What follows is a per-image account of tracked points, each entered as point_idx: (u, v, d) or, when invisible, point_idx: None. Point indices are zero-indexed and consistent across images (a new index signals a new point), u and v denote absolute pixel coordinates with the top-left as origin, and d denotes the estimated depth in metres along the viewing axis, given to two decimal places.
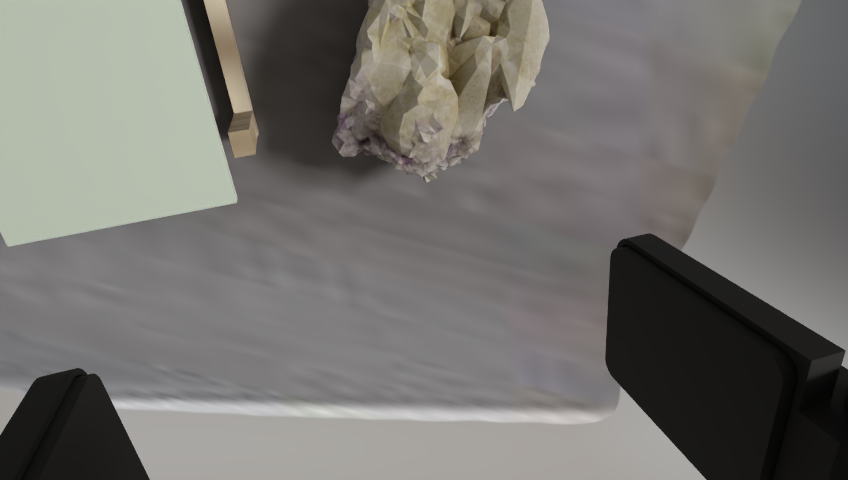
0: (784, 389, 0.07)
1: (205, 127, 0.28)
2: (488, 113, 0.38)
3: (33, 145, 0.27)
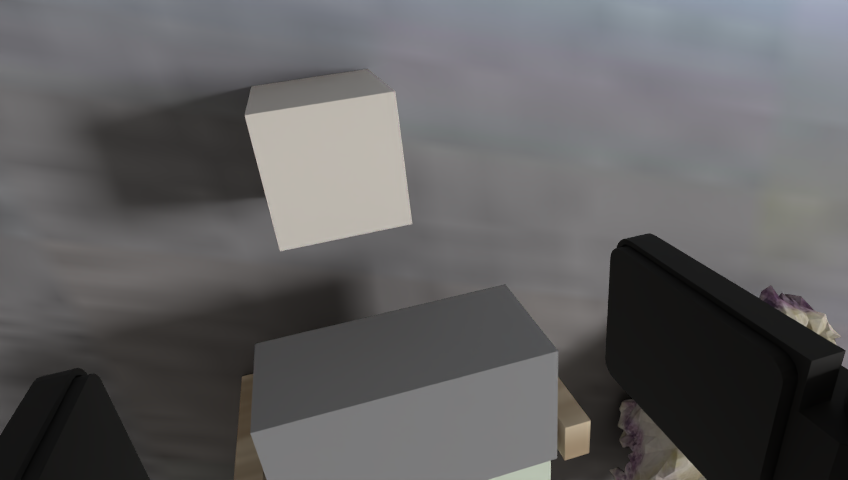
0: (784, 389, 0.07)
1: None
2: None
3: None
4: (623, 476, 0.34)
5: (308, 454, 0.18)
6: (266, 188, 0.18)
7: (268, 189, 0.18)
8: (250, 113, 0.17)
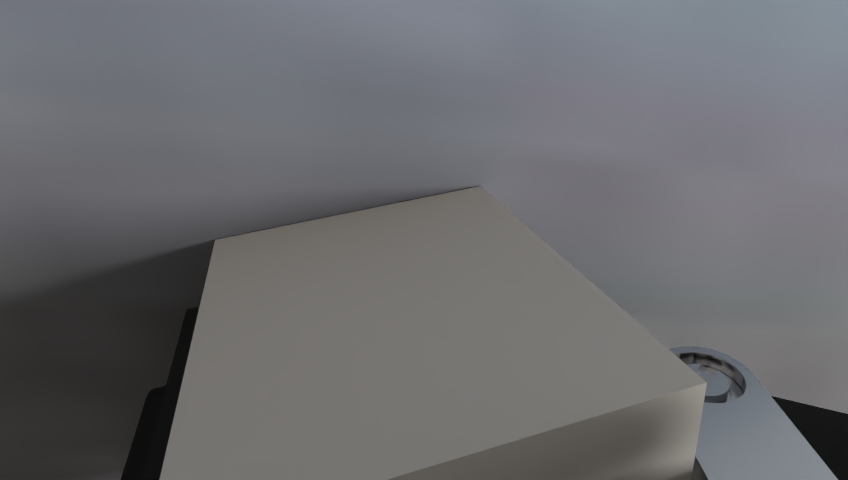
0: None
1: None
2: None
3: None
4: None
5: None
6: None
7: None
8: None
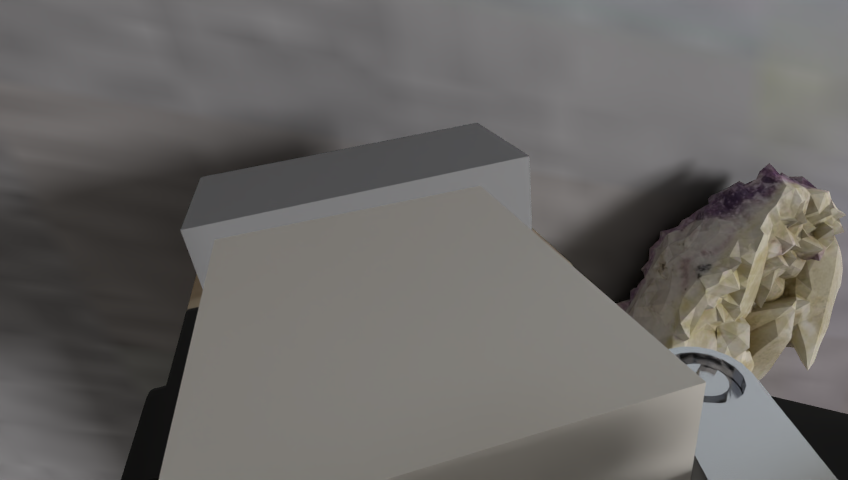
0: None
1: None
2: None
3: None
4: None
5: None
6: None
7: None
8: None
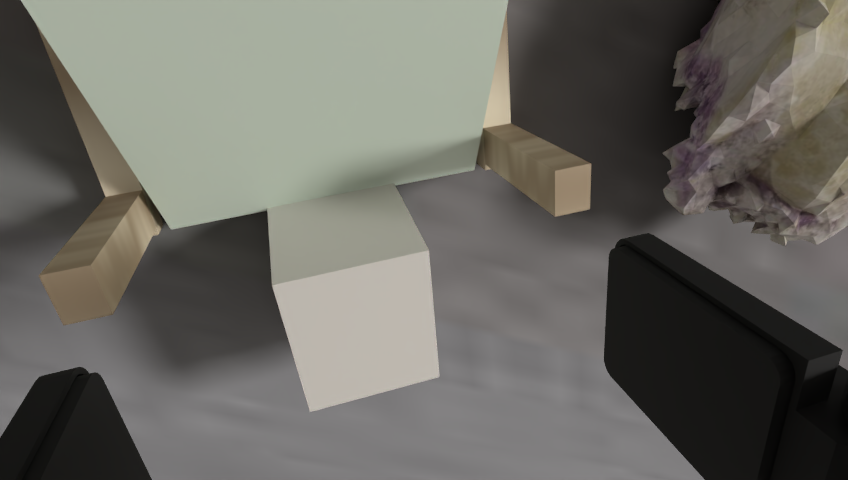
0: (782, 389, 0.07)
1: (478, 86, 0.18)
2: None
3: (223, 116, 0.16)
4: (688, 140, 0.20)
5: None
6: None
7: None
8: (314, 407, 0.19)
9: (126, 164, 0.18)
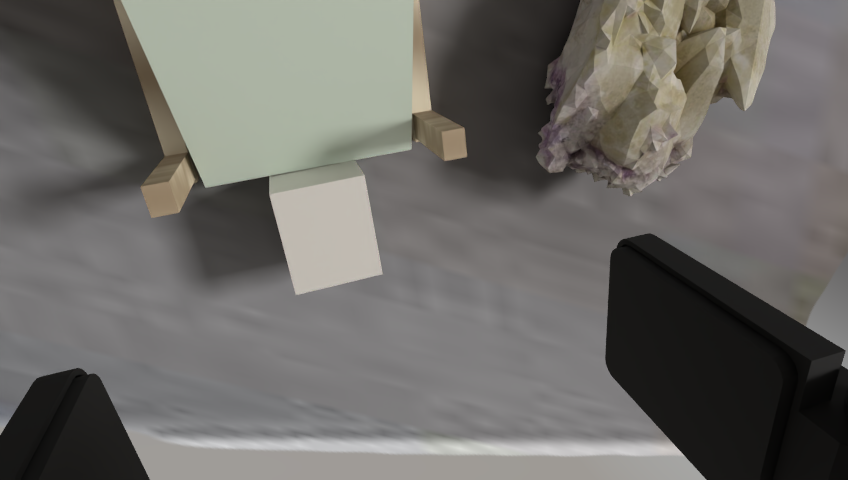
0: (784, 389, 0.07)
1: (403, 88, 0.28)
2: None
3: (242, 106, 0.26)
4: (549, 123, 0.31)
5: None
6: None
7: None
8: (298, 291, 0.29)
9: (178, 135, 0.28)
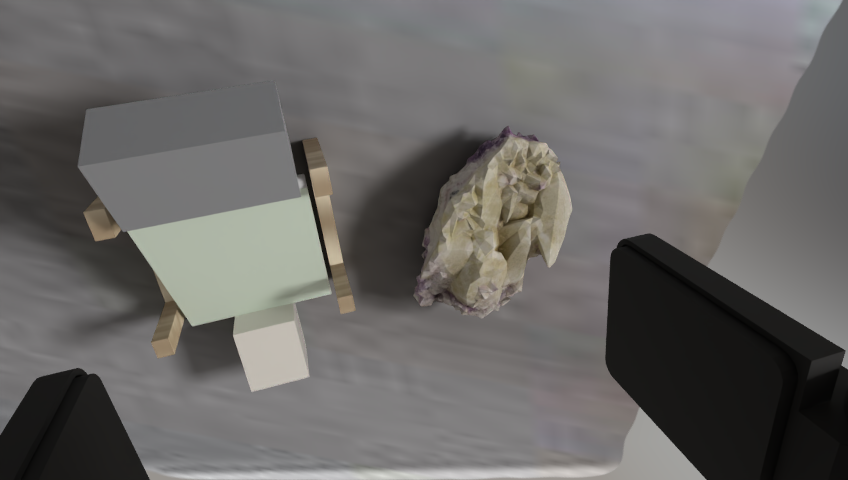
0: (784, 389, 0.07)
1: (319, 266, 0.43)
2: None
3: (214, 285, 0.41)
4: (420, 275, 0.46)
5: (122, 181, 0.30)
6: None
7: None
8: (253, 389, 0.45)
9: None
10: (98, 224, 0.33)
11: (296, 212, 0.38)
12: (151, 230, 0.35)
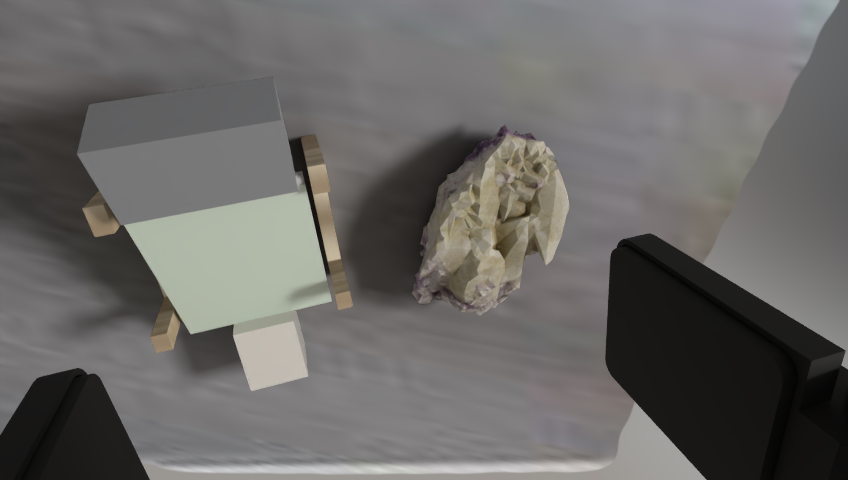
0: (785, 389, 0.07)
1: (318, 270, 0.43)
2: None
3: (212, 289, 0.41)
4: (418, 273, 0.47)
5: (120, 171, 0.30)
6: None
7: None
8: (252, 389, 0.46)
9: None
10: (97, 220, 0.33)
11: (294, 211, 0.38)
12: (150, 227, 0.35)
